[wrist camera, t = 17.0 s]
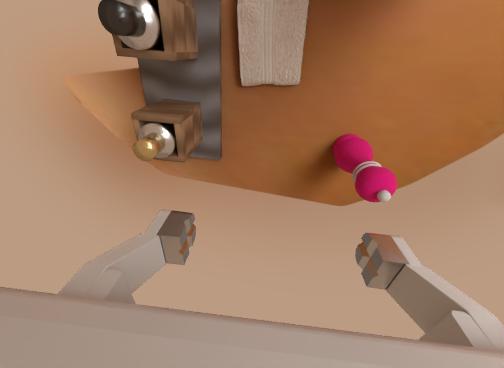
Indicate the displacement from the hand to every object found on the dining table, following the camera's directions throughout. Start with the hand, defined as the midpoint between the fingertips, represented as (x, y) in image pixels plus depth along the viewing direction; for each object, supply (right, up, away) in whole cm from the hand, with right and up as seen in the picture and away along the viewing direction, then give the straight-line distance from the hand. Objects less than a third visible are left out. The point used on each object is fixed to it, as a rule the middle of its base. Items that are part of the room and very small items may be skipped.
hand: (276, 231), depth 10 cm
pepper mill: (+21, +11, +38) cm, 44 cm away
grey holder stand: (-15, +24, +33) cm, 43 cm away
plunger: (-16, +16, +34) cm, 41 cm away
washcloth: (+3, +30, +28) cm, 41 cm away
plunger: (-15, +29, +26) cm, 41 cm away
